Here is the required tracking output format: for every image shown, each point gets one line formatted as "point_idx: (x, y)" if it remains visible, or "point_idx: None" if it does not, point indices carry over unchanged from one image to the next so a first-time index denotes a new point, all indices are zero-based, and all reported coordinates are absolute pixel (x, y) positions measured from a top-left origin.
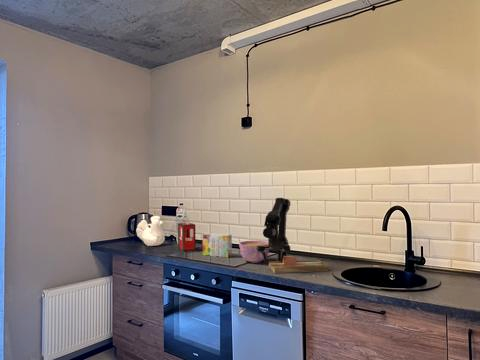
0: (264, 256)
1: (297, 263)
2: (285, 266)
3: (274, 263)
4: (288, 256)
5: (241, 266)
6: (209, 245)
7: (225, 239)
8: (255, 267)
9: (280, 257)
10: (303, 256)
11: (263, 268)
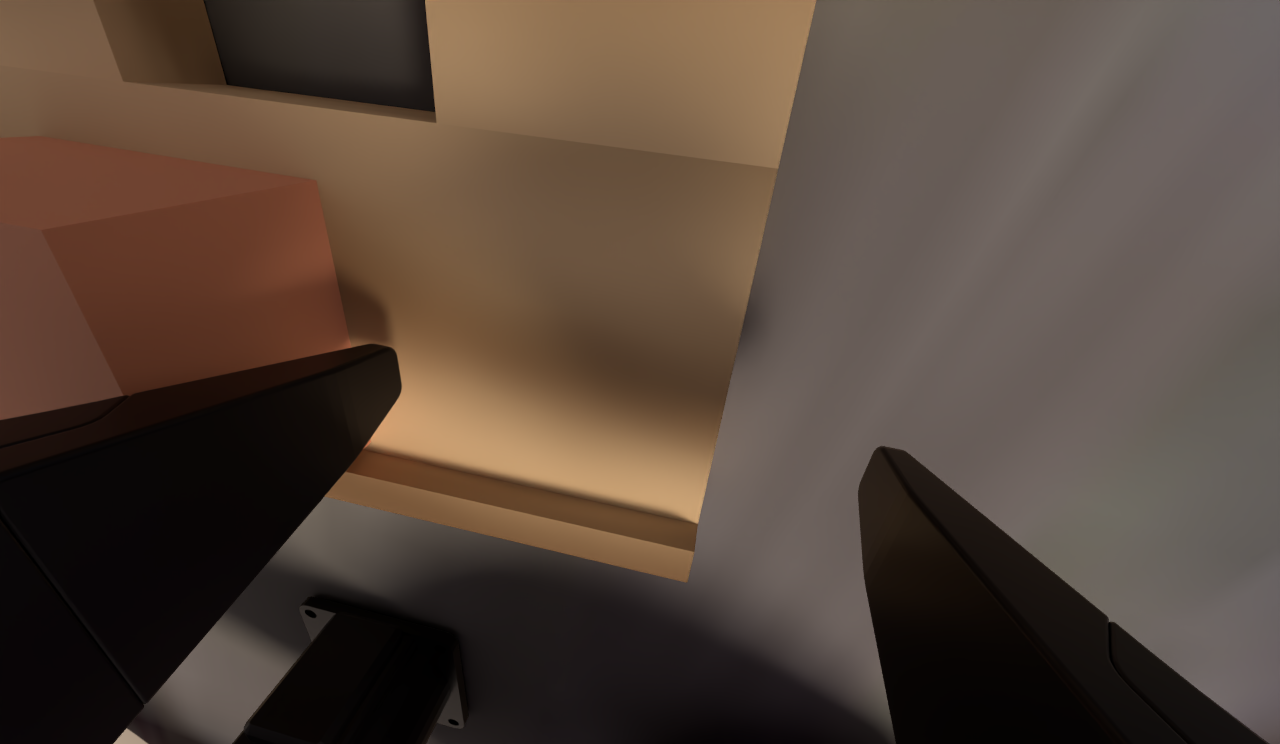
0: (1175, 703)
1: None
2: (325, 107)
3: (570, 490)
4: None
5: (1266, 715)
6: None
7: None
8: None
9: (377, 715)
10: (159, 703)
11: (900, 413)
